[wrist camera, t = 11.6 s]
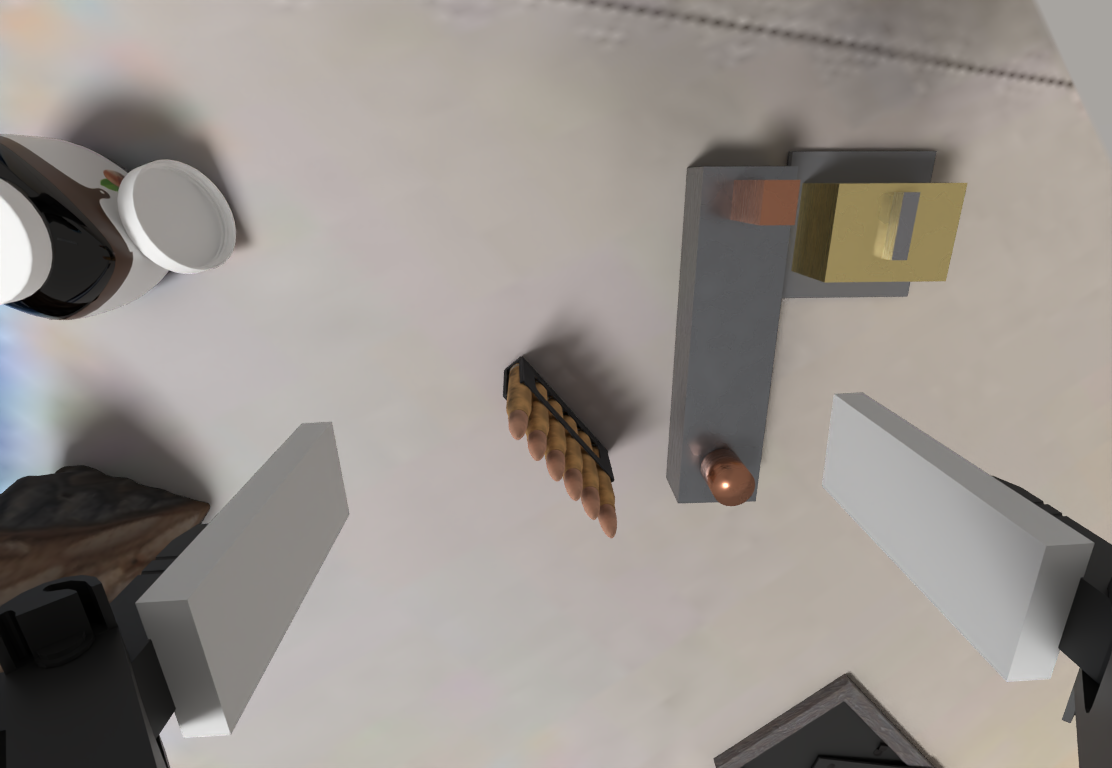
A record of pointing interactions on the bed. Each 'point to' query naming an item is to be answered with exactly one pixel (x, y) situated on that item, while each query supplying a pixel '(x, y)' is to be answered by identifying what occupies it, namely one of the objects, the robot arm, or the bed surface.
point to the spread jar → (100, 227)
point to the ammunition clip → (560, 442)
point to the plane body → (727, 327)
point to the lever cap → (877, 231)
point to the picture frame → (827, 736)
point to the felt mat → (852, 171)
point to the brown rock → (86, 529)
